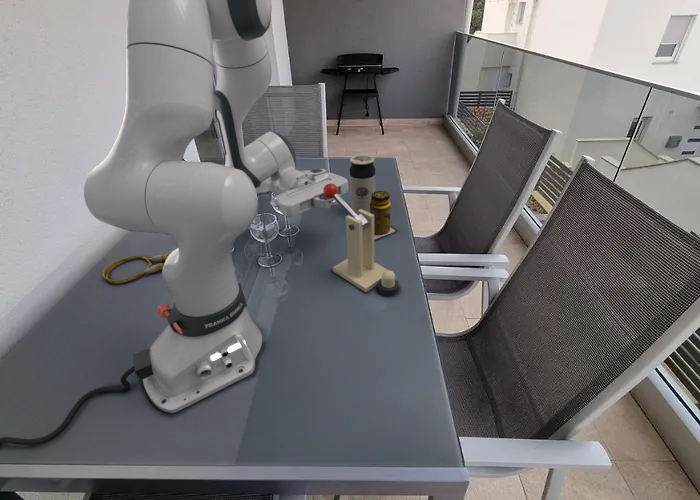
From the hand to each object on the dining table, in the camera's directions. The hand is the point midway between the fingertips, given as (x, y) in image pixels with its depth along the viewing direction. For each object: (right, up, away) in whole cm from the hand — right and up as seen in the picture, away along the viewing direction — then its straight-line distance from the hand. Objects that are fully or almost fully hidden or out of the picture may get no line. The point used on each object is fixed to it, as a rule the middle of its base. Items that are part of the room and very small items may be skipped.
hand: (333, 204), depth 85 cm
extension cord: (-54, -17, +9) cm, 57 cm away
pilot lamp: (+13, -21, -2) cm, 25 cm away
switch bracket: (+7, -17, +4) cm, 19 cm away
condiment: (+12, -5, +21) cm, 25 cm away
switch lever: (+2, -2, -2) cm, 3 cm away
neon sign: (-27, +16, +54) cm, 63 cm away
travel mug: (+8, +2, +31) cm, 32 cm away
